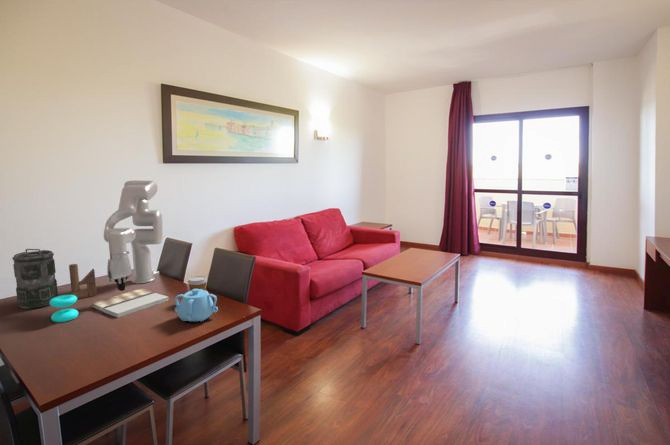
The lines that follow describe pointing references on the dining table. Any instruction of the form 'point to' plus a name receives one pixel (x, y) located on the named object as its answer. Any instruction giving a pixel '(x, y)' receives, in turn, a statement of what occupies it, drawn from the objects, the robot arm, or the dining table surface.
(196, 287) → the glass of beer
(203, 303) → the decorative pot
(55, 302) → the donuts
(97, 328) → the dining table surface
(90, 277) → the wooden block
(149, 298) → the board
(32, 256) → the canister
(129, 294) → the plank
